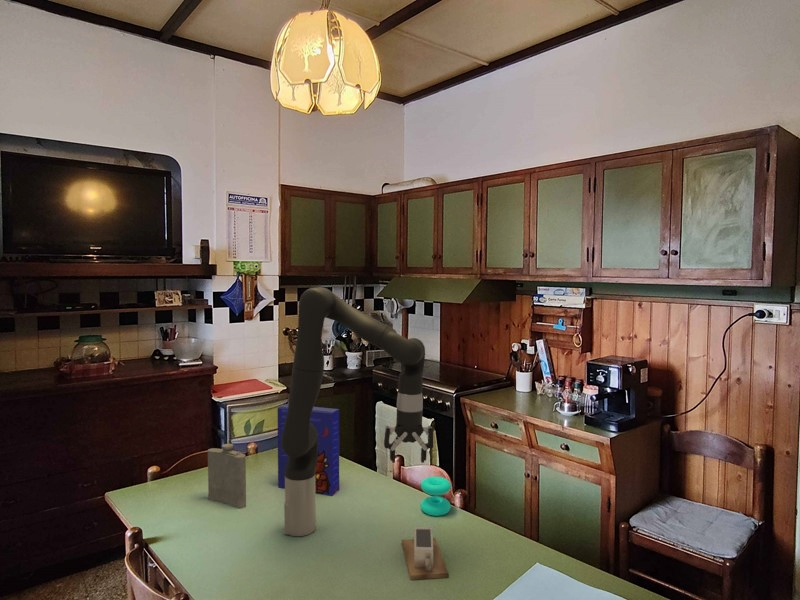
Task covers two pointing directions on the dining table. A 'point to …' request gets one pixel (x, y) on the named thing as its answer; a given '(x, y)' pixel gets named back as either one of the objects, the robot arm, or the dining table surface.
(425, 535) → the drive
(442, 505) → the donuts
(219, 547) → the dining table surface
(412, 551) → the pin tray
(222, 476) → the hip flask
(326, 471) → the cereal box
